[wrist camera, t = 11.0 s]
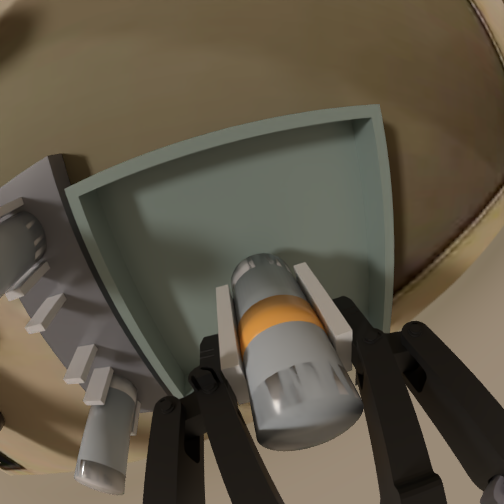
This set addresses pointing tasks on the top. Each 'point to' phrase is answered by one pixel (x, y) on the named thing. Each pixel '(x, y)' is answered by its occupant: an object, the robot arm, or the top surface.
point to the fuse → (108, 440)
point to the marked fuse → (288, 360)
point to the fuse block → (74, 295)
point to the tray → (240, 224)
